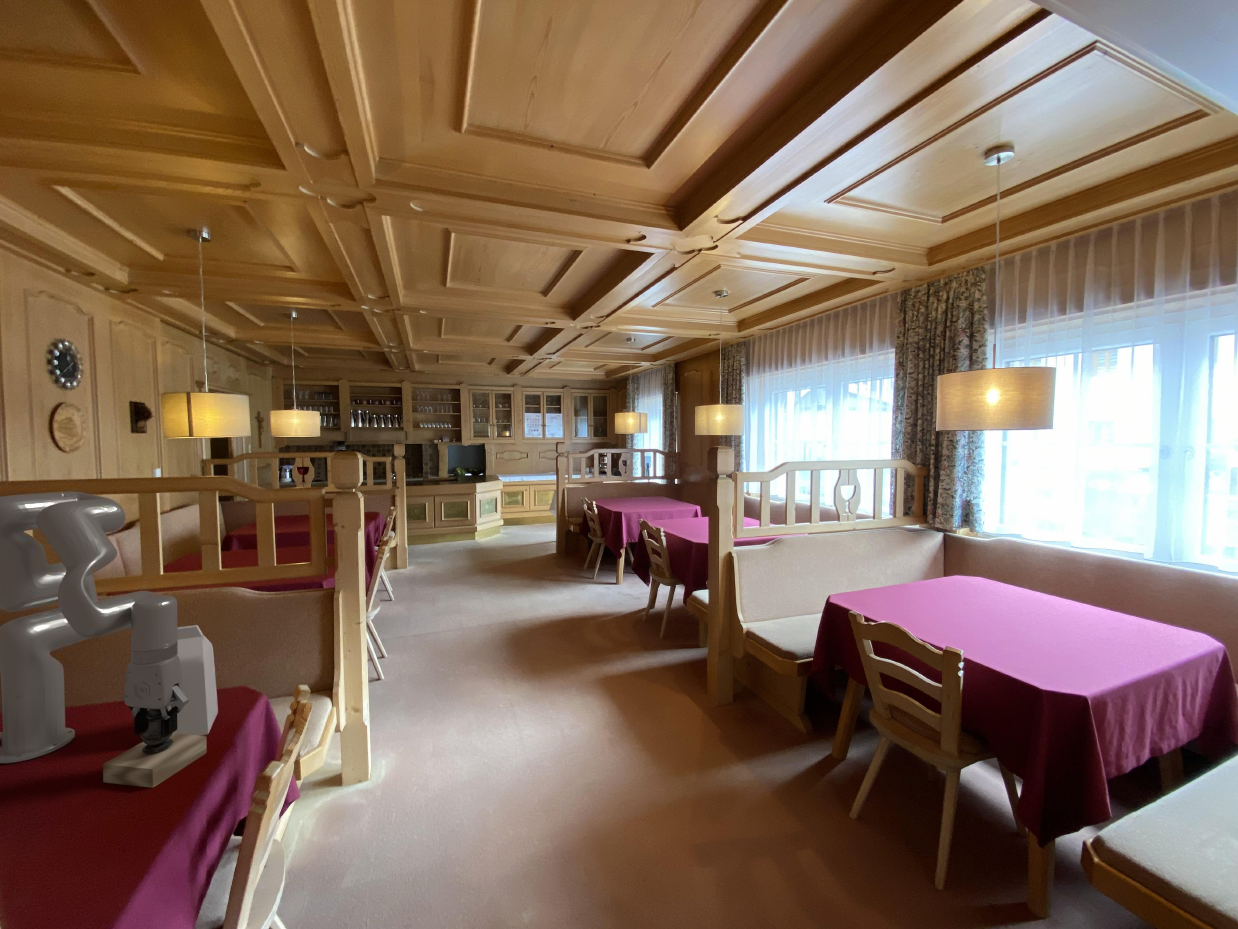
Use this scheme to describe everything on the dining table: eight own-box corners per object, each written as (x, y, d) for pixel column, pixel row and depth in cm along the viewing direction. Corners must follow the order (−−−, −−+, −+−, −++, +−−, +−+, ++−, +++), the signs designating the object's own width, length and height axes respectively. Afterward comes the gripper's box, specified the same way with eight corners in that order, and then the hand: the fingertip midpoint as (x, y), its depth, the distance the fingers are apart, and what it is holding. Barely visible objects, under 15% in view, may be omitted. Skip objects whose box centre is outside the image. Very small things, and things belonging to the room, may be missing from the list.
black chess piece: (135, 757, 108) (134, 702, 107) (146, 742, 113) (145, 690, 112) (170, 750, 110) (170, 697, 110) (179, 736, 116) (178, 685, 115)
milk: (143, 747, 118) (142, 639, 117) (159, 723, 128) (157, 624, 127) (208, 733, 124) (207, 631, 123) (218, 712, 134) (217, 617, 133)
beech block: (103, 782, 106) (103, 764, 106) (161, 748, 118) (161, 731, 118) (153, 787, 105) (152, 769, 105) (206, 753, 117) (206, 736, 117)
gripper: (102, 657, 108) (103, 738, 108) (172, 663, 106) (173, 746, 106) (139, 643, 115) (140, 719, 116) (205, 649, 113) (206, 726, 114)
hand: (156, 731), depth 111 cm, fingers closed on black chess piece, 5 cm apart
